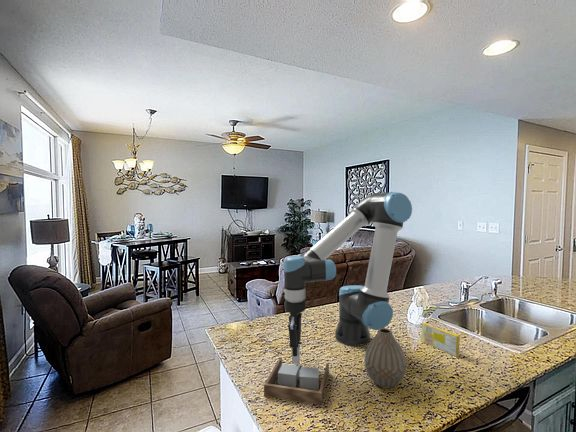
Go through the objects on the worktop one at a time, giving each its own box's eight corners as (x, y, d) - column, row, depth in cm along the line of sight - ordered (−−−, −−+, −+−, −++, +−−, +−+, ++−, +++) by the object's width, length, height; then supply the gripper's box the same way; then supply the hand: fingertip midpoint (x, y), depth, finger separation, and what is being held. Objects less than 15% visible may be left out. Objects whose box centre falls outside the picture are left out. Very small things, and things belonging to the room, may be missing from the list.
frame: (328, 373, 108) (328, 363, 108) (321, 405, 91) (321, 393, 91) (279, 366, 113) (279, 357, 112) (264, 396, 95) (263, 384, 95)
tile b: (299, 377, 106) (299, 365, 106) (295, 387, 100) (295, 375, 100) (282, 375, 107) (282, 363, 107) (277, 384, 102) (277, 372, 101)
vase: (400, 399, 94) (401, 342, 93) (358, 386, 100) (359, 333, 100) (409, 378, 105) (409, 327, 104) (371, 368, 112) (371, 320, 111)
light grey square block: (318, 379, 105) (318, 367, 105) (318, 390, 99) (318, 377, 99) (300, 378, 105) (300, 366, 105) (299, 388, 99) (299, 376, 99)
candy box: (459, 356, 120) (460, 335, 120) (456, 357, 119) (456, 336, 119) (424, 340, 134) (424, 321, 134) (420, 341, 133) (421, 322, 133)
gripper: (288, 293, 119) (289, 353, 120) (280, 304, 107) (281, 371, 108) (308, 294, 118) (308, 355, 119) (301, 305, 105) (302, 373, 106)
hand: (295, 362), depth 113 cm, fingers closed
